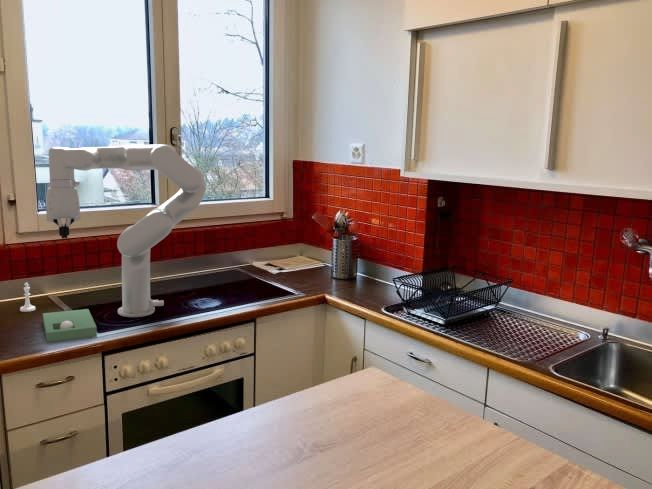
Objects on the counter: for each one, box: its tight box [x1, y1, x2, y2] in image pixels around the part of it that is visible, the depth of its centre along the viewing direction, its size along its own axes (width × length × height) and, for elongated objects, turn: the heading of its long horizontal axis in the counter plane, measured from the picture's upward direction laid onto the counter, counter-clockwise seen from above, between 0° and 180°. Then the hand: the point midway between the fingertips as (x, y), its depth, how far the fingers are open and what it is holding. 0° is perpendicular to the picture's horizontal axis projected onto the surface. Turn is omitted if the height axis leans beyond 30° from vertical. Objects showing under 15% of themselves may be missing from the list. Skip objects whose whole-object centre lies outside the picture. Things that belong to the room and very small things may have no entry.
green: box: [42, 308, 98, 343], centre depth 178 cm, size 14×20×3 cm
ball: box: [60, 321, 74, 329], centre depth 174 cm, size 4×4×4 cm
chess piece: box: [19, 281, 37, 313], centre depth 194 cm, size 5×5×10 cm
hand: (64, 237), depth 189 cm, fingers closed
